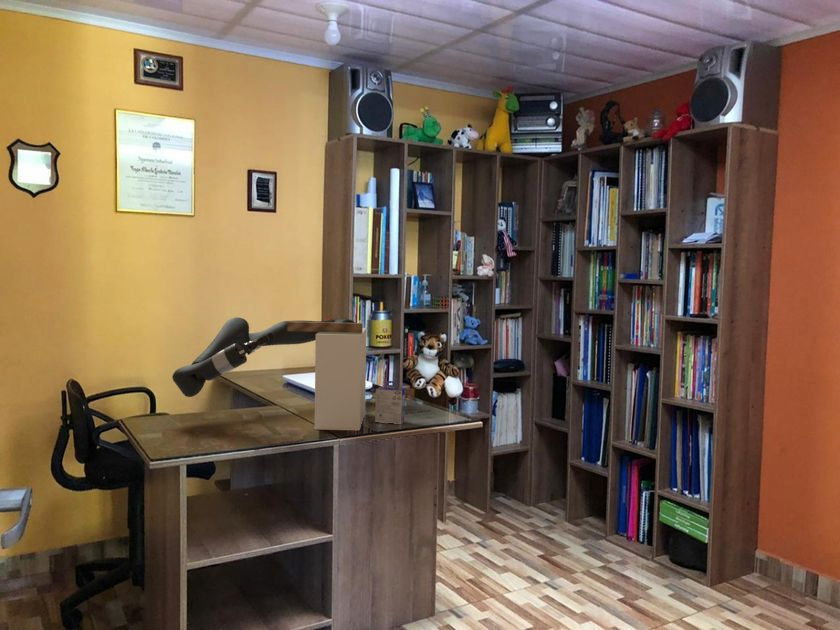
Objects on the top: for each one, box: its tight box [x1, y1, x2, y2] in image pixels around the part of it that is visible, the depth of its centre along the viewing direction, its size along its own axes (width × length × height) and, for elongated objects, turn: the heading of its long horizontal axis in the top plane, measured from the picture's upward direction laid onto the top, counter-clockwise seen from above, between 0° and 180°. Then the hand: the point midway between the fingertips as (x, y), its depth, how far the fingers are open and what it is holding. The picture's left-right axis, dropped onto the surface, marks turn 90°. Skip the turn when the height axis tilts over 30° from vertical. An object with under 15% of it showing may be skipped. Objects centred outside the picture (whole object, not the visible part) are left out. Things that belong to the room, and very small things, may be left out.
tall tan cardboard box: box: [314, 327, 367, 431], centre depth 244 cm, size 15×24×32 cm, turn 0°
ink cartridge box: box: [374, 380, 406, 425], centre depth 245 cm, size 10×6×14 cm, turn 78°
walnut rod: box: [288, 320, 364, 333], centre depth 236 cm, size 25×3×3 cm, turn 90°
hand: (270, 336), depth 237 cm, fingers open, 8 cm apart
